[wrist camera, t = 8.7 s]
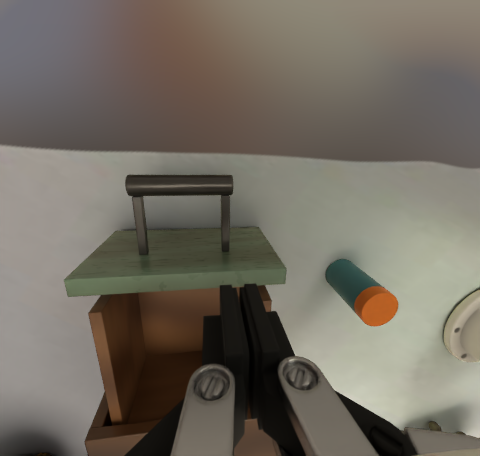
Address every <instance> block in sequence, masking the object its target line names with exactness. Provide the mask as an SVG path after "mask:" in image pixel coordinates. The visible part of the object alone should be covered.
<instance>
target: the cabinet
mask: <svg viewBox="0 0 480 456" xmlns="http://www.w3.org/2000/svg"><path fill="white" fill-rule="evenodd" d="M161 420H162V419H161ZM161 420H154V421H146V422H138V423H130V424H122V425H114V426H112V422H111V417H110V412H109V408H108V403H107V398H106V393H104V395H103V398H102V400H101V403H100V405H99V407H98V410H97V412H96V415H95V417H94V420H93V422H92V425H91V427H90V429H89V432H88V434H87V437H86V439H85V446H86V449H87V453H88V456H124V455H125V454H126V453H127V452H129V451H130V450H131V449H132V448H133V447H134V446H135V445H136V444H137V443H138V442H139V441H140V440H141V439H142V438H143V437H144V436H145V435H146V434H147V433H148V432H149V431H150V430H151V429H152V428H153V427H154V426H155V425H156V424H158V423H159V422H160V421H161ZM234 456H276V453H275V450H274V447H273V443H272V438H271V437H270V436H268V435H267V434H266V433H265V432H263V430H259V429H258V423H257V419H251V414H250V408H248V415H247V420H245V432H244V435H243V437H242V438H241V440H240V441H239V443H238V444H237V445H236V447H235V448H234Z"/></svg>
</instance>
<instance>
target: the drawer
mask: <svg viewBox="0 0 480 456" xmlns="http://www.w3.org/2000/svg"><path fill="white" fill-rule="evenodd" d="M126 191H127V193H128V195H129V196H133V197H132V201H133V209H134V217H135V225H136V230H134V231H115V232H114V233H113V234H112V235H111V236H110V237H109V238H108V239H107V240H106V241H105V242H104V243H103V244H102V245H100V246H99V247H98V248H97V249H96V250H95V251H94V252H93V253H92V254H91V255H90V256H89V257H88V258H87V259H86V260H85V261H83V262H82V263H81V264H80V265H79V266H78V267H77V268H76V269H75V270H74V271H73V272H72V273H71V274H70V275H69V276H67V277H66V278H65V279H64V282H65V287H66V291H67V295H68V297H74V296H91V295H101V296H100V297H99V299H98V300H97V302H96V303H95V305H94V306H93V307H92V309H91V310H90V312H89V313H88V314H89V319H90V323H91V328H92V333H93V337H94V342H95V347H96V351H97V356H98V361H99V365H100V370H101V375H102V379H103V384H104V389H105V393H106V398H107V403H108V408H109V412H110V417H111V422H112V426H114V425H122V424H130V423H138V422H146V421H154V420H161V419H163V418H164V417H165V416H166V415H167V414H168V413H169V412H170V411H171V410H172V409H173V408H174V407H175V406H176V405H177V404H178V403H179V402H180V401H181V400H182V399H183V398H184V397H185V395H186V391H187V387H188V383H189V380H190V378H191V376H192V375H193V373H194V372H195V371H196V370H197V369H199V368H200V367H202V345H203V316H210V315H220V285H232V288H237V293H238V298H239V290H240V287H244V284H252V283H256V284H257V287H258V290H259V293H260V295H261V298H262V301H263V304H264V307H265V309H266V312H271V302H272V301H271V298H270V296H269V294H268V291H267V289H266V287H265V285H275V284H285V280H286V267H285V266H284V264H283V263H282V261H281V260H280V258H279V257H278V255H277V254H276V252H275V251H274V249H273V248H272V246H271V245H270V243H269V242H268V240H267V239H266V237H265V236H264V234H263V233H262V231H261V230H260V228H259V227H244V228H230V196H229V195H232V194H233V177H232V175H127V177H126ZM186 195H221V228H207V229H171V230H147V228H146V219H145V210H144V201H143V196H186ZM248 408H249V401H248Z"/></svg>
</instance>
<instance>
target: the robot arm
mask: <svg viewBox="0 0 480 456" xmlns="http://www.w3.org/2000/svg"><path fill="white" fill-rule="evenodd" d="M444 343H445V346H446V348H447V349H448V351H449V352H450V353H452V354H453V355H454V356H455V357H456V358H458V359H459V360H462V361H465V362H480V289H479V290H477V291H476V292H474V293H472V294H471V295H469V296H468V297H467V298H465V299H464V300H463V301H462V302H461V303H460V304H459V305H458V306H457V307H456V308H455V310H454V311H453V312H452V314H451V315H450V317H449V319H448V321H447V323H446V326H445V330H444ZM248 401H249V408H250V414H251V419H257V423H258V429H259V430H263V432H265V433H266V434H267V435H268V436H270V437H271V438H272V443H273V447H274V450H275V453H276V456H480V439H479V438H476V437H473V436H469V435H462V434H454V433H447V432H439V431H431V430H424V429H416V428H409V427H405V428H404V431H401V430H399V429H398V428H397V427H395V426H394V425H393V424H391V423H390V422H388V421H386V420H385V419H383V418H381V417H380V416H378V415H376V414H374V413H373V412H371V411H369V410H368V409H366V408H364V407H362V406H361V405H359V404H357V403H355V402H354V401H352V400H350V399H349V398H347V397H345V396H343V395H342V394H340V393H338V392H337V391H335V390H334V389H333V388H332V386H331V385H330V384H329V382H328V381H327V379H326V378H325V376H324V375H323V373H322V372H321V370H320V369H319V368H318V367H317V366H316V365H315V364H314V363H313V362H311V361H310V360H308V359H306V358H303V357H298V356H295V354H294V352H293V350H292V347H291V345H290V342H289V340H288V338H287V335H286V333H285V330H284V328H283V326H282V323H281V321H280V319H279V316H278V314H277V312H276V311H271V312H266V309H265V307H264V304H263V301H262V298H261V295H260V293H259V290H258V287H257V284H256V283H252V284H244V287H240V290H239V298H238V293H237V288H232V285H220V315H210V316H203V345H202V367H200V368H199V369H197V370H196V371H195V372H194V373H193V375H192V376H191V378H190V380H189V383H188V387H187V391H186V395H185V397H184V398H183V399H182V400H181V401H180V402H179V403H178V404H177V405H176V406H175V407H174V408H173V409H172V410H171V411H170V412H169V413H168V414H167V415H166V416H165V417H164V418H163V419H162V420H161V421H160V422H159V423H158V424H156V425H155V426H154V427H153V428H152V429H151V430H150V431H149V432H148V433H147V434H146V435H145V436H144V437H143V438H142V439H141V440H140V441H139V442H138V443H137V444H136V445H135V446H134V447H133V448H132V449H131V450H130V451H129V452H127V453H126V454H125V455H124V456H234V448H235V447H236V445H237V444H238V443H239V441H240V440H241V438H242V437H243V435H244V432H245V420H247V415H248Z"/></svg>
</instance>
